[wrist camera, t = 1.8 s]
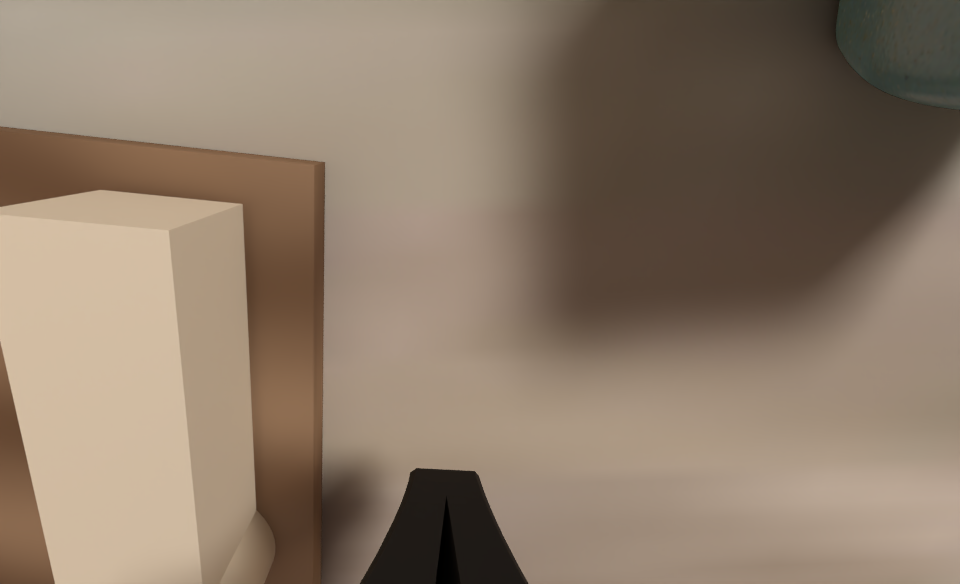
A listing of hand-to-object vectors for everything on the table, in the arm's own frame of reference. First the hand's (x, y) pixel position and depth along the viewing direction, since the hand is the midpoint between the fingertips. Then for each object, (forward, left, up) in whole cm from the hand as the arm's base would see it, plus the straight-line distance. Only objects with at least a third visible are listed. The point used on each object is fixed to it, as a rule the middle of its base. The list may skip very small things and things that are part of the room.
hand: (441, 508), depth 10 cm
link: (-1, +6, -3) cm, 7 cm away
